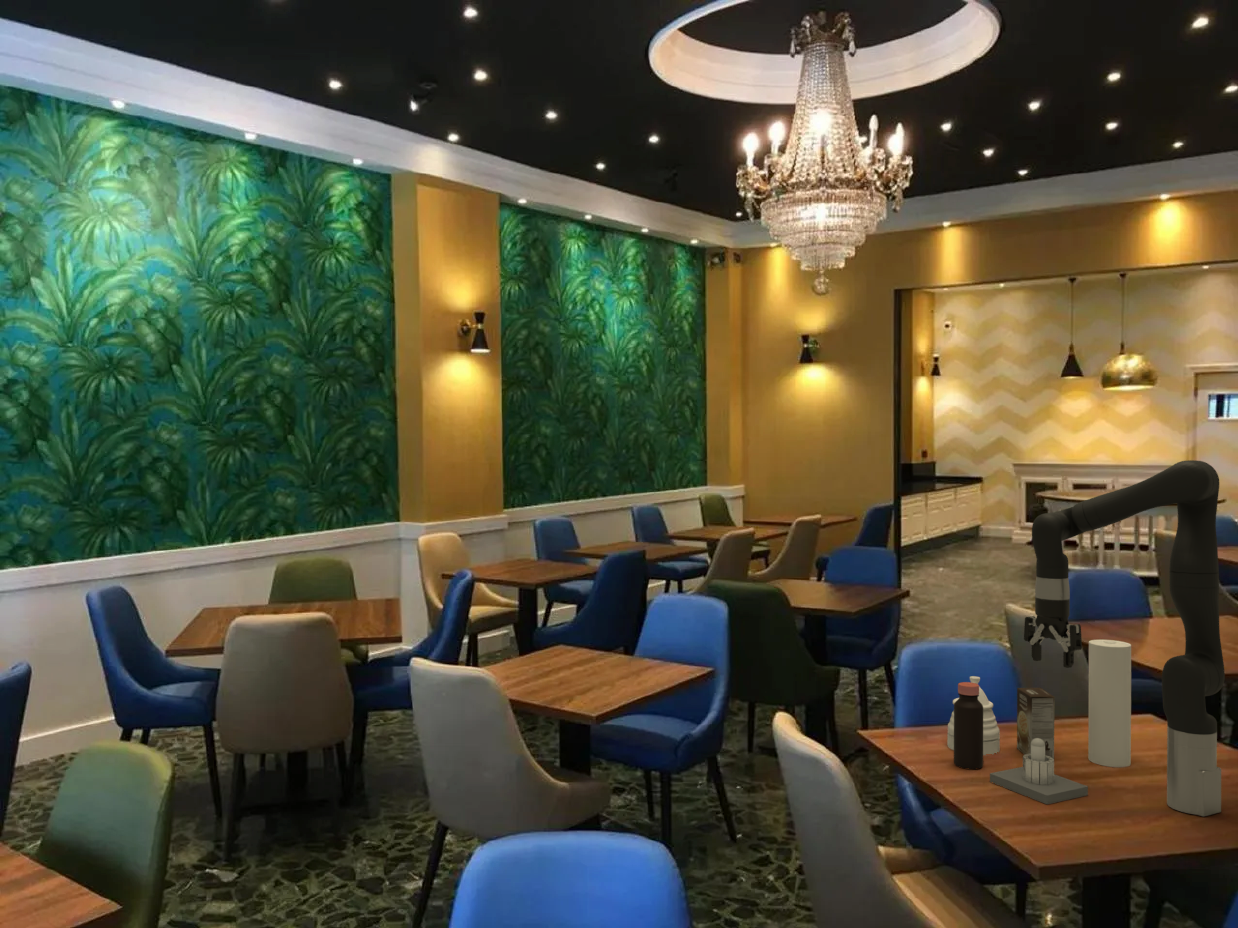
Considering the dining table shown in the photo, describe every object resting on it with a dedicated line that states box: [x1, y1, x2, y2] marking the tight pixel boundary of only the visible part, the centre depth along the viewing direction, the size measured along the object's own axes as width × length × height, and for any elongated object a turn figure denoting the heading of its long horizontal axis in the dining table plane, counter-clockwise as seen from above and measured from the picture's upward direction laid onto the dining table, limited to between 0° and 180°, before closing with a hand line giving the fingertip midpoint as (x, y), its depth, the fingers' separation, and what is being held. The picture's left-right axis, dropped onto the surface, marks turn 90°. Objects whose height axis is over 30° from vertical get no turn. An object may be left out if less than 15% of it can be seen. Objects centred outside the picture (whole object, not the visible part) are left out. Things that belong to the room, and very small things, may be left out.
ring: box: [1022, 754, 1055, 785], centre depth 218 cm, size 6×6×5 cm
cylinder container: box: [1087, 639, 1132, 768], centre depth 238 cm, size 9×9×30 cm
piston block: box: [989, 738, 1089, 805], centre depth 219 cm, size 16×13×12 cm
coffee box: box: [1016, 687, 1056, 760], centre depth 243 cm, size 9×6×16 cm
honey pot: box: [946, 675, 1001, 756], centre depth 249 cm, size 13×13×18 cm
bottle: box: [953, 681, 984, 770], centre depth 235 cm, size 7×7×20 cm
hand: (1052, 663), depth 228 cm, fingers open, 8 cm apart
